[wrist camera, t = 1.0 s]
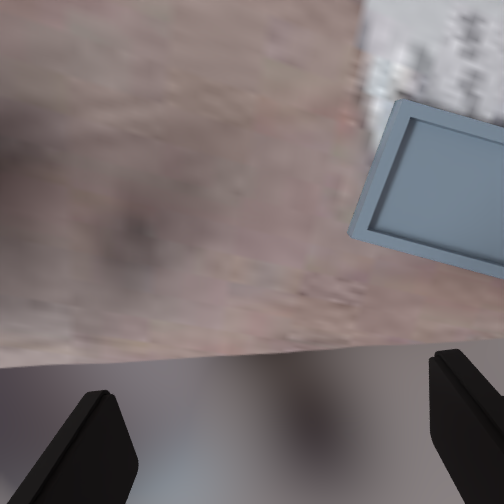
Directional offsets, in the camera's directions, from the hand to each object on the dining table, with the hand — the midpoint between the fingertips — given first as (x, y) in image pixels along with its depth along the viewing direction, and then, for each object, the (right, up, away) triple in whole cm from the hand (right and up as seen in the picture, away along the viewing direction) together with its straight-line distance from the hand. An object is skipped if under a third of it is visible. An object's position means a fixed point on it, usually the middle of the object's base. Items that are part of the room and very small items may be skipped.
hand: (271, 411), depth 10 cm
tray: (+21, +10, +24) cm, 34 cm away
